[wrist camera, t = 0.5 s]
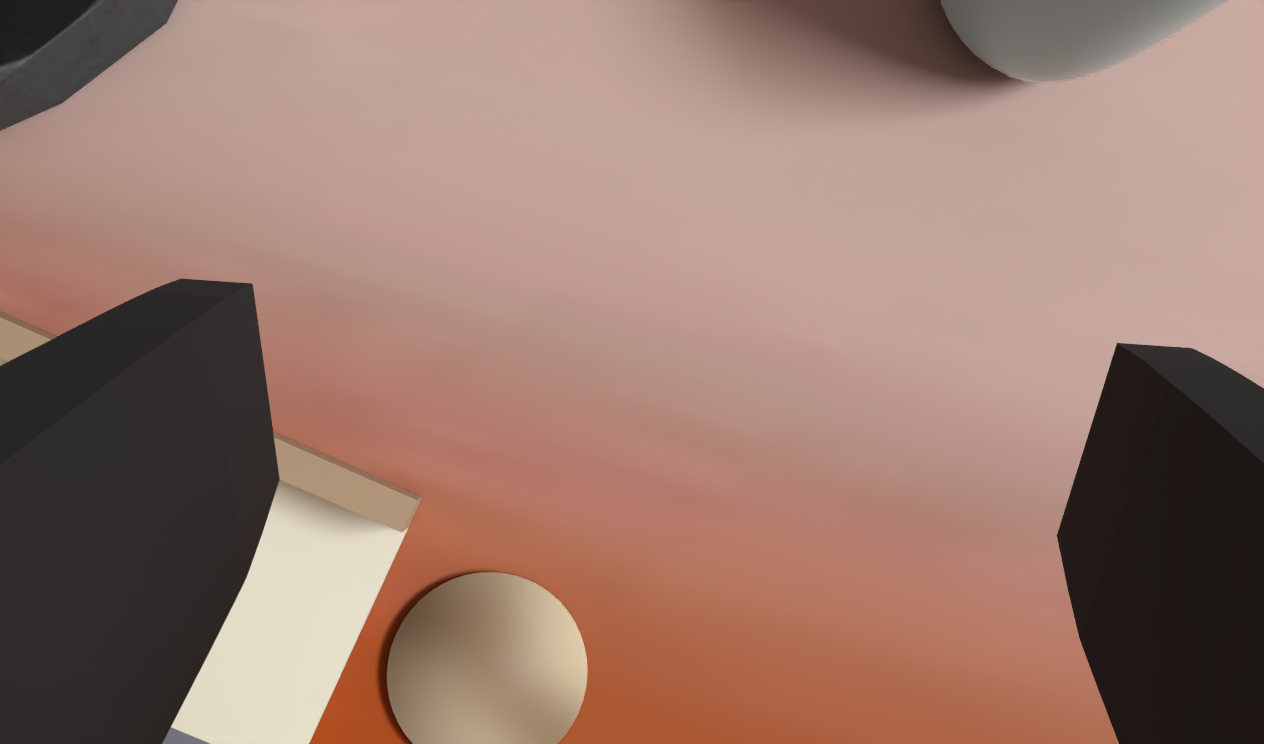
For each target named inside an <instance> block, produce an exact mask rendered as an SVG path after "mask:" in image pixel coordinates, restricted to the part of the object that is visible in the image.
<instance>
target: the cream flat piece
mask: <svg viewBox="0 0 1264 744" xmlns="http://www.w3.org/2000/svg"><path fill="white" fill-rule="evenodd" d="M56 337H58V336H55V335H53V334H51V333H48V332H46V331H44V330H42V329H39V328H37V327H35V326H32V325H30V324H28V323H26V322H23V321H21V320H19V319H17V318H14V317H12V316H10V315H7V314H5V313H3V312H1V311H0V366H1V365H3V364H5V363H7V362H9V361H10V360H12V359H14V358H16V357H18V356H20V355H22V354H24V353H26V352H28V351H30V350H32V349H34V348H36V347H38V346H40V345H42V344H44V343H46V342H48V341H50V340H52V339H54V338H56ZM273 435H274V442H275V449H276V456H277V464H278V471H279V478H280V480H279V483H278V487H277V490H276V493H275V496H274V499H273V502H272V505H271V508H270V511H269V514H268V518H267V521H266V524H265V527H264V530H263V533H262V536H261V539H260V542H259V544H258V547H257V550H256V553H255V556H254V558H253V561H252V564H251V567H250V570H249V572H248V575H247V578H246V580H245V582H244V584H243V586H242V588H241V590H240V592H239V594H238V596H237V598H236V600H235V602H234V604H233V606H232V608H231V610H230V612H229V614H228V616H227V618H226V620H225V622H224V624H223V626H222V628H221V630H220V632H219V634H218V636H217V638H216V640H215V642H214V644H213V646H212V648H211V650H210V652H209V654H208V656H207V658H206V660H205V662H204V664H203V666H202V668H201V670H200V672H199V673H198V675H197V677H196V679H195V681H194V683H193V685H192V687H191V689H190V691H189V693H188V695H187V697H186V699H185V701H184V703H183V705H182V706H181V708H180V710H179V712H178V714H177V716H176V718H175V720H174V722H173V724H172V726H171V728H170V730H169V732H168V734H167V736H166V738H165V739H164V741H163V743H162V744H309V743H310V740H311V738H312V736H313V734H314V732H315V730H316V727H317V725H318V723H319V721H320V719H321V716H322V714H323V712H324V710H325V708H326V706H327V703H328V701H329V699H330V697H331V695H332V693H333V690H334V688H335V686H336V684H337V682H338V680H339V677H340V675H341V673H342V671H343V669H344V666H345V664H346V662H347V660H348V658H349V656H350V653H351V651H352V649H353V647H354V645H355V643H356V640H357V638H358V636H359V634H360V632H361V630H362V627H363V625H364V623H365V621H366V619H367V617H368V614H369V612H370V610H371V608H372V606H373V603H374V601H375V599H376V597H377V595H378V593H379V590H380V588H381V586H382V584H383V582H384V580H385V577H386V575H387V573H388V571H389V569H390V567H391V564H392V562H393V560H394V558H395V556H396V553H397V551H398V549H399V547H400V545H401V543H402V540H403V538H404V536H405V534H406V532H407V530H408V527H409V525H410V523H411V521H412V519H413V517H414V514H415V512H416V510H417V508H418V506H419V503H420V501H421V499H422V496H420V495H417V494H415V493H413V492H410V491H408V490H406V489H404V488H401V487H399V486H397V485H395V484H392V483H390V482H388V481H385V480H383V479H381V478H379V477H376V476H374V475H372V474H369V473H367V472H365V471H363V470H360V469H358V468H356V467H354V466H351V465H349V464H347V463H344V462H342V461H340V460H338V459H335V458H333V457H331V456H328V455H326V454H324V453H322V452H319V451H317V450H315V449H313V448H310V447H308V446H306V445H303V444H301V443H299V442H297V441H294V440H292V439H290V438H288V437H285V436H283V435H281V434H278V433H276V432H274V431H273Z"/></svg>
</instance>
